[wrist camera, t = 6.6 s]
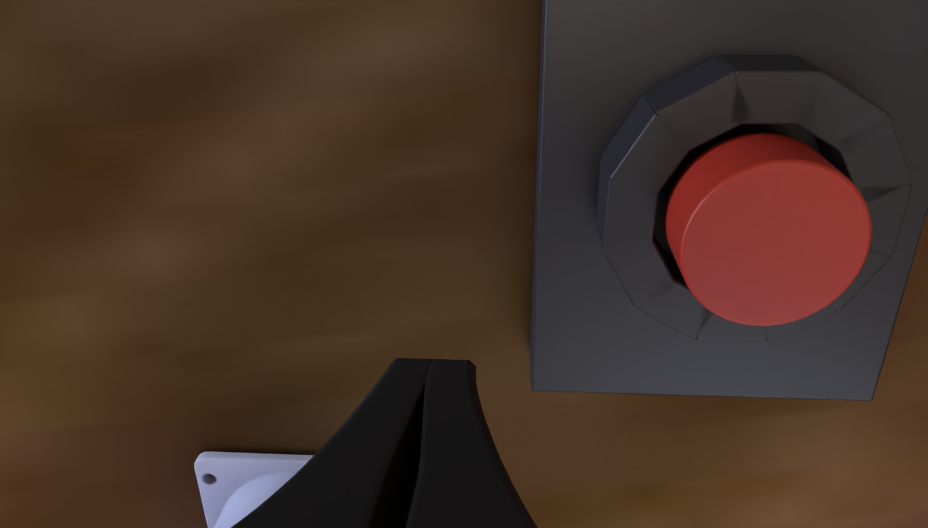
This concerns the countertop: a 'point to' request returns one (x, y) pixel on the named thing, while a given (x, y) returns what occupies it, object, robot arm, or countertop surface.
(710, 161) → the red push button
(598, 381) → the control block
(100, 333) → the countertop surface
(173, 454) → the countertop surface
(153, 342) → the countertop surface
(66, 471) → the countertop surface
